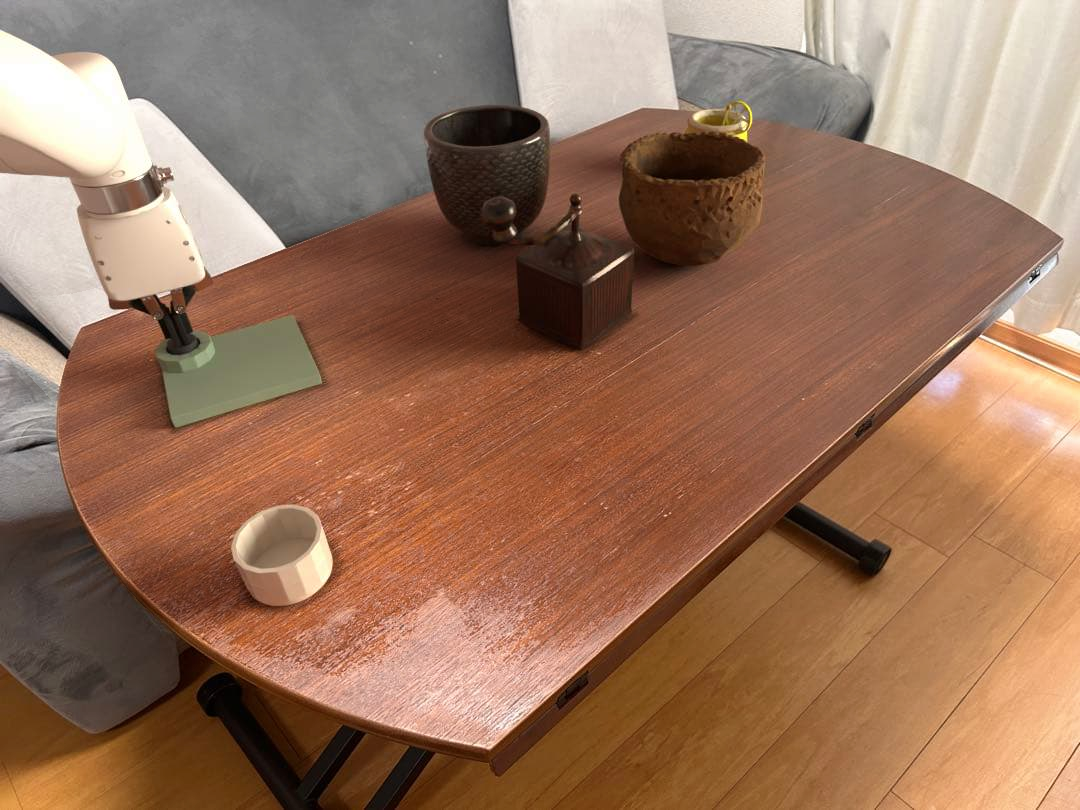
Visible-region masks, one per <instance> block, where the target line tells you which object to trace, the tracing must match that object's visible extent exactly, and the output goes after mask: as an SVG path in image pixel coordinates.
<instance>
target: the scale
mask: <svg viewBox="0 0 1080 810" xmlns="http://www.w3.org/2000/svg"><path fill="white" fill-rule="evenodd" d="M191 334H193V335H195V337H196V339H197V342H198V344H199V346H198V348H196V349H195V350H193V351H191V352H190V353H186V354H183V355H171V354H170V352H169V349H168V347H167V342H168V340H169V339H165V338H164V339H163V340H161V341H160V342H159V344H157V346H156V347H155V348H154V353H155V358H156V360H157V362H158V365H159V366H160V368H161V373H162V378H163V379H162V380H163V384H164V389H165V396H166V400H167V407H168V411H169V417H170V420H171V423H172V425H173V427H174V428H175V429H177V428H179V427H183V426H186V425H190V424H193V423H196V422H200V421H203V420H207V419H210V418H214V417H216V416H219V415H222V414H227V413H230V412H233V411H235V410H239V409H243V408H246V407H248V406H252V405H255V404H259V403H262V402H266V401H269V400H273V399H276V398H279V397H282V396H286V395H288V394H292V393H295V392H298V391H302V390H305V389H309V388H312V387H315V386H319V385H322V384H323V381H322V377H321V374H320V371H319V369H318V367H317V365H316V363H315V360H314V359H313V358H314V357H313V356H312V354H311V351H310V349H309V346H308V345H307V343H306V340H305V338H304V335H303V334H302V331H301V329H300V327H299V325H298V323H297V320H296V318H295V315H294V314H290V315H287V316H283V317H280V318H275V319H272V320H268V321H263V322H261V323H257V324H254V325H249V326H246V327H242V328H238V329H234V330H231V331H226V332H224V333H219V334H216V335H212V336H210V334H208V333H206V332H205V331H202V330H193V332H192V333H191Z"/></svg>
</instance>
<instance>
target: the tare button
mask: <svg viewBox="0 0 1080 810" xmlns="http://www.w3.org/2000/svg"><path fill="white" fill-rule="evenodd" d="M188 337H189V341H190V344H188V345H185V344H183V343H182V340H181V343H182V345H180V347H177V348H176V347H175V345H174V343H173V340H172V338H170V339H169V340H168V342H167V347H168V349H169V352H170V354H171V355H183V354H186V353H190V352H191V351H193V350H195V349H196V348H198V346H199V344H198V342H197V339H196V337H195V335H193V334H191V333H189V334H188Z"/></svg>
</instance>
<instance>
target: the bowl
mask: <svg viewBox="0 0 1080 810" xmlns="http://www.w3.org/2000/svg"><path fill="white" fill-rule="evenodd" d="M619 161H621V162H622V168H621V171H622V172H621V174H622V183H621V187H620V190H619V195H618V206H619V210H620V213H621V217H622V220H623V223H624V226H625V229H626V231H627V233H628V235H629V236H630V237H631V239H632V241H633V242H634V243H635V244H636V245H637V247H639V249H640V250H642V251H643V252H645V253H646V254H648V255H650V256H652V257H654V258H656V259H657V260H660V261H661V262H664V263H665V264H666V263H667V264H671V265H679V266H686V267H687V266H688V267H690V266H703V265H704V266H705V265H710V264H713V263H716V262H718V261H720V260H722V259H724V258H725V257H726V256H728V255H729V254H731V253H732V252H733V251H735V250H736V249H737V248H738V247H739V246H740V245H741V244H742V243H744V241H745V240H747V238H748V237H749V236H751V234H752V233H753V232H754V231H755V229H756V228H757V227H758V226H759V225H760V222H761V216H762V212H763V205H764V196H763V195H764V194H763V183H764V177H765V176H764V175H765V167H766V156H765V154H764V153H763V151H762V150H761V149H760V148H759V147H758V146H754V145H752V144H750V143H749V142H748V140H747V141H745V140H744V139H740V138H739V137H734V136H733V134H732V135H727V134H726V133H725V132H724V133H718V132H709V131H702V132H701V133H687V134H685V133H682V132H679V131H676V132H671V133H667V132H662V133H660V132H655V133H649V134H646V135H643V136H642V137H638V138H636V140H633V142H630V143H628V144H627V146H626V147H625V148H624V149H623V150H622V152H621V153H620V156H619Z"/></svg>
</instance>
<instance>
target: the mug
mask: <svg viewBox="0 0 1080 810" xmlns="http://www.w3.org/2000/svg"><path fill="white" fill-rule="evenodd" d="M738 105H741V106H743V108H742V110H741V111H740V112H739V107H738ZM732 106H733V108H734V110H731V109H732ZM746 111H747V114H748V119H747V117H745V116H744V113H745V112H746ZM686 122H687V127H686V129H685V130H684V134H687V133H701V132H702V131H709V132H718V133H724V132H725V133H726V134H727V135H732V134H733V136H734V137H739V138H740V139H744V140H745V141H747V142H748V131H749V130H750V128H751V126H752V124H753V112H752V111H751V108H750V106H749V105H748V103H746V102H744V101H741V100H735V101H732V102H730V103H728V104H727V105H726V108H707V109H703V110H699V111H696V112H694V113H692V115H690V116H689V117H688V118H687V121H686Z"/></svg>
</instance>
